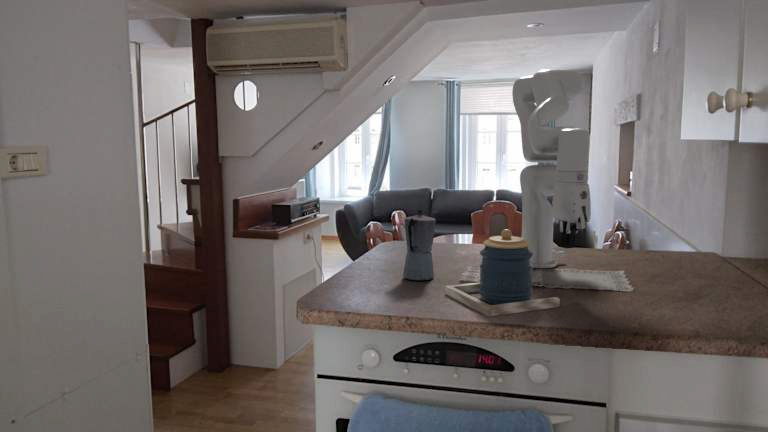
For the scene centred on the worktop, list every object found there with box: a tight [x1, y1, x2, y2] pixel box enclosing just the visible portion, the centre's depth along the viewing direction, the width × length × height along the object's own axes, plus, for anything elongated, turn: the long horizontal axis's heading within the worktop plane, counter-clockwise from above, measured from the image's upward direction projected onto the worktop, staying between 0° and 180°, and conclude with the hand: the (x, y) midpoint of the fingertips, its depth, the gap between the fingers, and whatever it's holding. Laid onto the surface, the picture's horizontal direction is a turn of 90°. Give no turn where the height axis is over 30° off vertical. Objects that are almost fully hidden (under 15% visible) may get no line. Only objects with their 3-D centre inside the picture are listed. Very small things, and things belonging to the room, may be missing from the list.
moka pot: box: [402, 209, 437, 281], centre depth 160 cm, size 10×15×20 cm, turn 161°
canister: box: [478, 228, 534, 305], centre depth 139 cm, size 13×13×18 cm
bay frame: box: [444, 281, 561, 317], centre depth 139 cm, size 20×21×2 cm
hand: (567, 247), depth 146 cm, fingers closed
